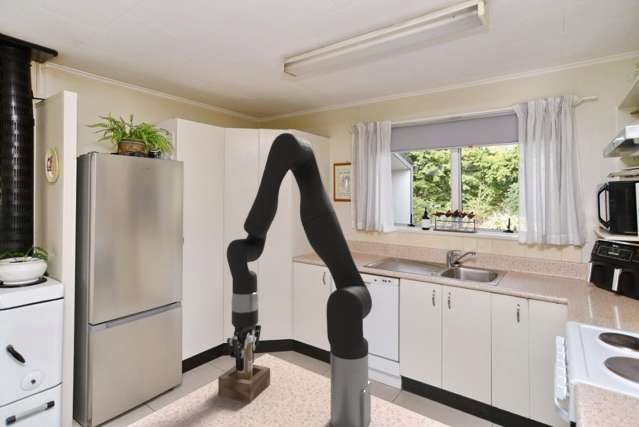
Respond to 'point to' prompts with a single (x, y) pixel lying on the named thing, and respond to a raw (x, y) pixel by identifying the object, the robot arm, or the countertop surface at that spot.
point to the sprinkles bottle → (247, 360)
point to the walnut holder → (244, 384)
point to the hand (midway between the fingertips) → (245, 366)
